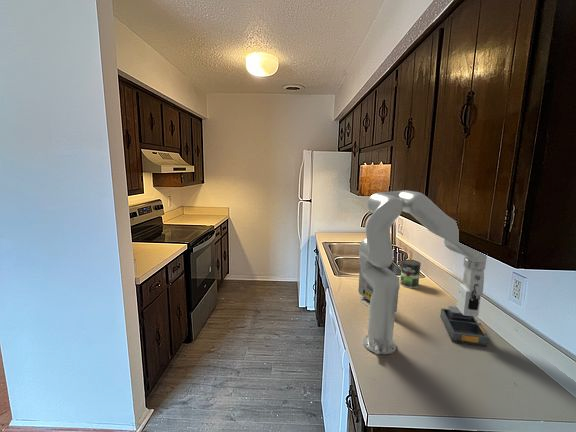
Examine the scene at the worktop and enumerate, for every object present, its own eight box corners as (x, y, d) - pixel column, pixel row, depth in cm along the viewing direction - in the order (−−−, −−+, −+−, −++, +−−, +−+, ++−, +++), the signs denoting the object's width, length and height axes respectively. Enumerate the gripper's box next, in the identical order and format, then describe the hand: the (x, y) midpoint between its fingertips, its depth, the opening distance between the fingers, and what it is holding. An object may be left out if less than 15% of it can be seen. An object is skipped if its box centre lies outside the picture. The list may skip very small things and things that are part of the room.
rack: (487, 347, 120) (488, 337, 119) (452, 342, 123) (453, 332, 122) (469, 320, 140) (470, 311, 140) (440, 316, 144) (441, 307, 143)
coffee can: (416, 289, 173) (418, 266, 170) (397, 285, 179) (399, 262, 176) (420, 284, 181) (422, 261, 179) (402, 279, 187) (404, 258, 185)
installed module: (470, 327, 132) (472, 314, 131) (450, 324, 135) (451, 312, 133) (466, 320, 138) (467, 308, 137) (447, 317, 140) (448, 305, 139)
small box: (478, 317, 121) (481, 292, 119) (463, 315, 121) (466, 291, 120) (470, 307, 128) (473, 284, 126) (455, 306, 129) (458, 283, 127)
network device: (400, 316, 143) (403, 276, 139) (385, 319, 139) (388, 279, 136) (367, 294, 166) (369, 259, 162) (353, 296, 163) (355, 261, 159)
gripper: (493, 272, 112) (487, 315, 115) (477, 258, 128) (472, 296, 132) (470, 270, 114) (465, 313, 117) (458, 256, 130) (453, 294, 133)
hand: (469, 304), depth 124 cm, fingers closed on small box, 8 cm apart
